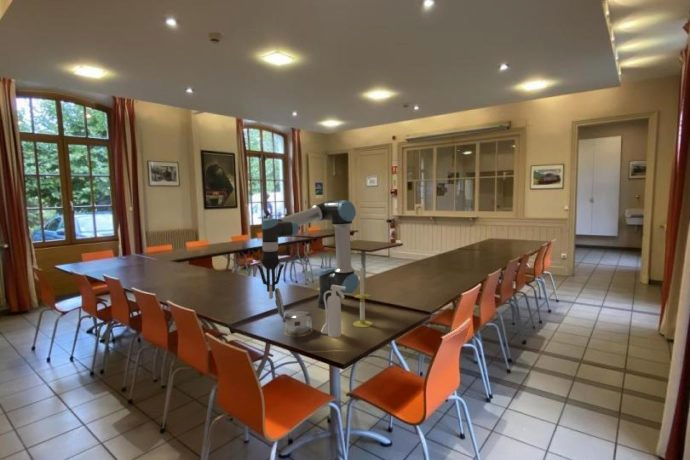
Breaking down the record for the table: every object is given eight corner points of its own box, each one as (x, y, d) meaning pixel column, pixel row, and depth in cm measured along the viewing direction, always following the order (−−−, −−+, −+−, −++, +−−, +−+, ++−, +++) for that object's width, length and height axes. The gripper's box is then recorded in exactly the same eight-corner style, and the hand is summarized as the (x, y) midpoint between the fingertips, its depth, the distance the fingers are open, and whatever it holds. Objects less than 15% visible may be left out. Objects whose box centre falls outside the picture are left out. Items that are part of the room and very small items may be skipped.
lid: (278, 285, 183) (274, 285, 183) (275, 292, 169) (271, 293, 169) (285, 312, 185) (280, 313, 185) (282, 321, 171) (278, 322, 171)
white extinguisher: (323, 331, 179) (323, 282, 176) (346, 334, 175) (347, 284, 172) (318, 336, 172) (318, 286, 169) (342, 340, 169) (342, 288, 166)
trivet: (312, 326, 186) (312, 325, 186) (312, 336, 173) (312, 335, 173) (285, 327, 185) (285, 326, 185) (283, 338, 171) (283, 337, 171)
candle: (349, 323, 190) (348, 262, 187) (363, 319, 196) (363, 260, 193) (361, 329, 182) (360, 265, 179) (376, 324, 187) (375, 263, 185)
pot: (311, 323, 189) (311, 309, 188) (311, 337, 170) (311, 320, 170) (285, 325, 187) (284, 310, 187) (281, 338, 169) (281, 322, 169)
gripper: (284, 249, 179) (285, 295, 181) (258, 249, 178) (259, 296, 180) (283, 251, 171) (283, 299, 173) (255, 251, 170) (256, 300, 172)
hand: (271, 298), depth 176 cm, fingers closed
